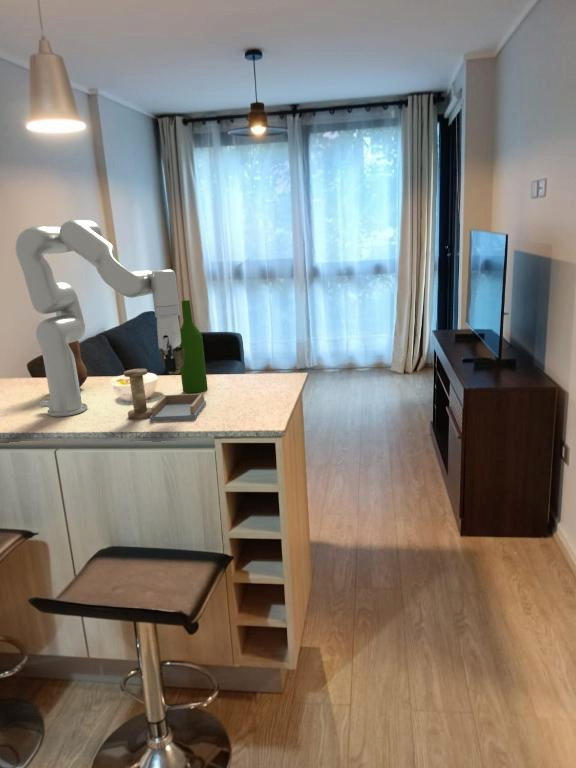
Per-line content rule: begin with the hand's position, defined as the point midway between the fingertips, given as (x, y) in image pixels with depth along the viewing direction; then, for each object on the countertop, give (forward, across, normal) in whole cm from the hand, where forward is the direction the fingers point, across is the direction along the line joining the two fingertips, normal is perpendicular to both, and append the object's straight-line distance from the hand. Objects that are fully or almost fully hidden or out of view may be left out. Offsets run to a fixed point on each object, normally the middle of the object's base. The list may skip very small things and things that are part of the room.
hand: (174, 368), depth 184 cm
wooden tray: (+15, 0, 0) cm, 15 cm away
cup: (+2, 0, 0) cm, 2 cm away
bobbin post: (+15, +1, -12) cm, 19 cm away
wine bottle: (+15, -28, -1) cm, 32 cm away
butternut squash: (+15, -38, -52) cm, 66 cm away
